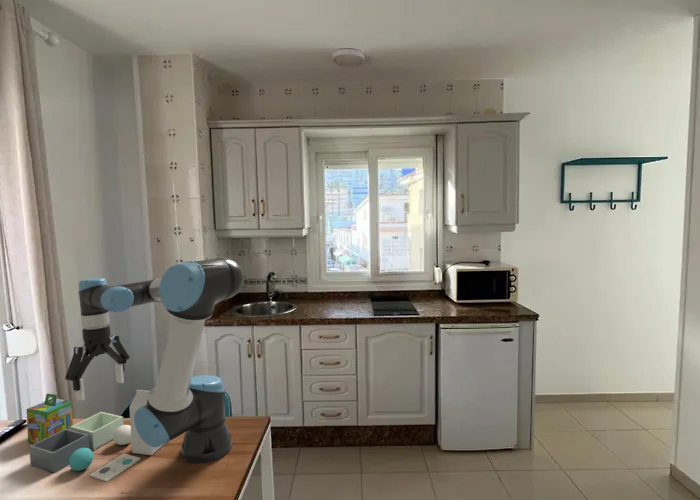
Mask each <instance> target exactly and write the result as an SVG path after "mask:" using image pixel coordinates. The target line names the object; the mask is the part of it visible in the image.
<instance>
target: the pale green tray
mask: <svg viewBox="0 0 700 500" xmlns="http://www.w3.org/2000/svg"><path fill="white" fill-rule="evenodd" d="M124 423H125V422H124V416H123V415H122V416H121V415H117V414H112V413H108V412H104V411H99V412H98V413H95V414H93V415H92V416H90V417H88V418H86V419H84V420H81V421H79V422H77V423H75V424H73V426H71V427H70V430H73V431H77V432H80V433H84V434H88V435H89V446H90V450H91V451H92V452H93V451H96V450H98V449H99V448H101V447H103V446H105V445H107V444H109V443H110V442H112V441H114V438H113V436H114V433H115V431H116V429H117V428H119V427H120V426H122V425H125V424H124Z"/></svg>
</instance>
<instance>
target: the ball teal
mask: <svg viewBox="0 0 700 500" xmlns="http://www.w3.org/2000/svg"><path fill="white" fill-rule="evenodd" d="M93 460H94V453H93V450H90V449H88V448H80V449H78V450H76V451H75V452H74V453H73V454H72V455H71V456H70V459H69V465H68V466H69V468H71V470H73V471H76V472H77V471H79V472H80V471H84V470H86V469H87V468H89V467H90V466H91V464H92V463H93Z"/></svg>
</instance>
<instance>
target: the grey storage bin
mask: <svg viewBox="0 0 700 500" xmlns="http://www.w3.org/2000/svg"><path fill="white" fill-rule="evenodd" d="M28 447H29V449H28V450H29V458H30V459H29V460H30V466H32V467H35V468H37V469H40V470H43V471H45V472H48V473H49V472H50V473H52V474H55V473H58V472H59V471H61V470H62V469H65V468H66V467H68V466H70V465H69V459H70V456H71V455H72V454H73V453H74V452H75V451H76V450H78V449H80V448H88V449H90V446H89V435H88V434H84V433H80V432H77V431H73V430H70V429H64V430H62V431H60V432H58V433H56V434H54V435H52V436H50V437H48V438H46V439H43V440H41V441H39V442H37V443H32V444H31V445H29V446H28Z"/></svg>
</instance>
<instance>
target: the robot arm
mask: <svg viewBox="0 0 700 500" xmlns="http://www.w3.org/2000/svg"><path fill="white" fill-rule="evenodd" d="M244 281H245V274H244V271H243V269H242V267H241V266H240V264H238V262H236V261H235V260H232V259H231V258H230V259H229V258H226V257H219V258H218V257H216V258H210V259H204V260H202V259H201V260H196V261H195V260H194V261H192V260H191V261H190V260H188V261H183V262H181V263H177V264H173V265H172V266H170V267H168V268H167V269H166V270H165V272H163V275H162V276H161V277H158V278H153V279H149V280H142V281H137V282H130V283H123V284H118V285H108V284H107V283H108V282H107V279H105V278H104V277H92V278H91V277H90V278H83V279H81V280H79V282H78V296H79V297H78V298H79V307H80V309H79V310H80V318H81V327H82V328H83V329H81V330H82V331H81V333H82V340H83V342H84V344H83V345H82V346H74V347H73V354H72V358H71V360H70V363H69V366H68V368H67V371H66V374H65V378H64V380H66V381H71V382H72V389H73V391H75V397H76V398H75V399H76V400H78V401H85V400H86V396H85V395H86V394H85V387H84V386H85V384H84V379H83V378H82V376H84V373H85V371H86V369H88V366H89V365H90V363H91V361H92V360H94V358H95V357H98V356H100V355H105V354H107V355H108V356H109V357H110V358H111V359H112V360H114V361H115V362H116V363H114V370H115V371H114V372H115V382H116V383H118V384H123V383H125V381H124V380H125V379H124V372H125V364H126V363H127V360H129V359H130V355H129V354H128V352H127V351H126V349H125V348H124V346H123V344H122V342H121V340H120V336H119V335H111V334H112V333H111V326H110V325H109V324H110V322H111V321H110V312H113V313H117V312H124V311H127V310H128V309H130V308H133V307H137V306H142V305H146V304H151V303H152V304H153V303H156V302H157V303H159V302H161V303H162V304H163V306H164V307H165V310H166V312H167V313H168V314H169V316H170V317H169V318H170V319H169V323H168V324H169V325H168V329H167V333H166V337H165V338H166V339H165V342H164V346H163V347H164V349H163V352H162V358H161V361H160V366H159V367H160V368H159V370H158V371H159V373H158V375H157V376H158V377H157V382H156V386H155V387H153V388H152V389H151V390H149V391H150V393H149V395H148V400H147V404H146V405H145V406H144V407H143V406H142V407H140V408H139V409H138V410H137V411H136V412H135V415H134V422H135V427H136V429H137V432H138V434H139V436H140V437H141V439H142V440H143V441H144V442H145V443H146V444H147V445H149V446H151V447H159V446H161V445H163V444H164V445H166V444H168V443H170V441H172V440H174V439H176V438H178V437H179V436H181V435H182V434H184V436H183V441H182V444H181V449H180V450H181V457H182V459H183V460H185V462H188V463H191V464H192V463H193V464H204V463H209V462H213V461H216V460H219V459H221V458H222V457H224V456H226V455H227V454H228V453H229V452H230V451H231V449H232V447H233V437H232V433H230V430H229V427H228V425H227V422H226V399H225V395H226V394H225V393H226V392H225V390H226V389H225V385H224V381H223V379H222V378H221V377H219V376H215V375H209V374H204V375H201V374H200V375H196V376H193V375H194V372H195V371H194V370H195V366H196V363H197V358H198V357H197V356H198V353H199V350H200V349H199V348H200V344H201V340H202V335H203V331H204V328H205V327H204V326H205V322H206V320H208V319H210V318H211V317H212V316H213V315H214V310H215V307H216V306H215V305H216V303H217V302H221V301H226V300H228V299H231V298H233V297H234V296H236V295H238V293H239V292H240V291H241V289H242V287H243V285H244V283H245V282H244ZM111 344H112V346H113V347H114V348H112V347H111V346H110V345H111ZM114 349H115V350H116V351H115V350H114ZM164 445H163V446H164Z"/></svg>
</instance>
